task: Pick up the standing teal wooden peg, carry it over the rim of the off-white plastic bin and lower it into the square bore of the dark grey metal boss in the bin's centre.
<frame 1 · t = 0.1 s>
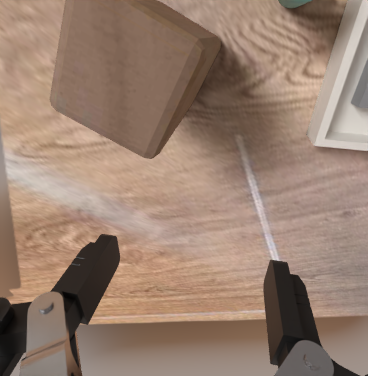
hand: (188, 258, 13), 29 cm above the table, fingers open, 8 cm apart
wooden block: (175, 58, 35), on the table
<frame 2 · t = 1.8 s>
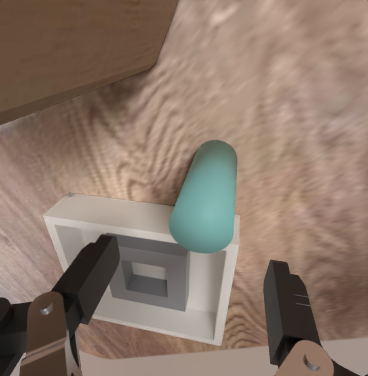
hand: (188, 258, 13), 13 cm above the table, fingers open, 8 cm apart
bin: (153, 258, 33), on the table
peg: (215, 160, 23), on the table
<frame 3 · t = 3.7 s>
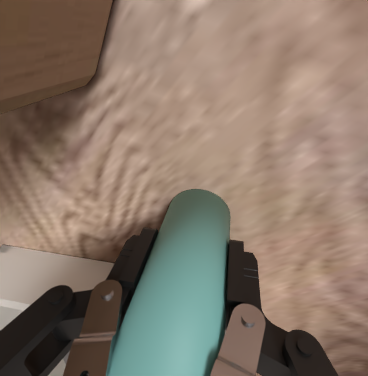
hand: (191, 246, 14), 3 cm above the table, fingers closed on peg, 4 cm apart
bin: (122, 323, 25), on the table
peg: (198, 215, 16), on the table, touching gripper
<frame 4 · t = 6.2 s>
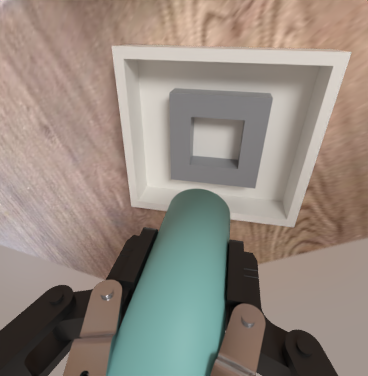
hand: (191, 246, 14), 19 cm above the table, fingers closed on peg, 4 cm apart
bin: (217, 133, 29), on the table
peg: (198, 214, 16), point 16 cm above the table, touching gripper
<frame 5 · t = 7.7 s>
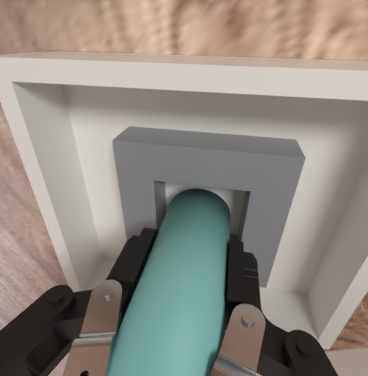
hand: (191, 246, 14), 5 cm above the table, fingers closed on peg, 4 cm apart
bin: (204, 194, 18), on the table
peg: (198, 214, 16), point 3 cm above the table, touching gripper
when the fingers open (5 cm above the table, at t = 8.8 s): peg drops 1 cm, resting on bin.
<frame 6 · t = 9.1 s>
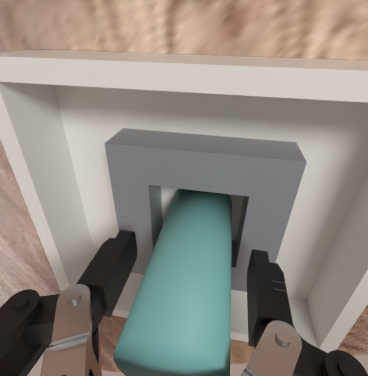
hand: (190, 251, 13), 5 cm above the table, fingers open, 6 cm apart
bin: (202, 198, 18), on the table
peg: (202, 204, 17), point 1 cm above the table, touching bin
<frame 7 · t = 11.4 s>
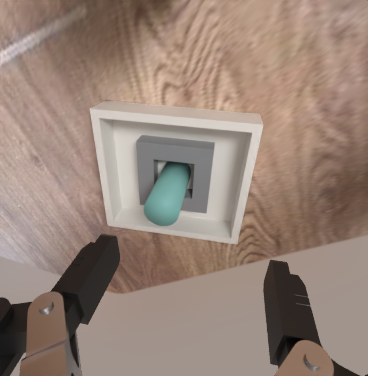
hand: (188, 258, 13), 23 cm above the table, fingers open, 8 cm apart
bin: (177, 168, 37), on the table
peg: (177, 170, 36), point 1 cm above the table, touching bin
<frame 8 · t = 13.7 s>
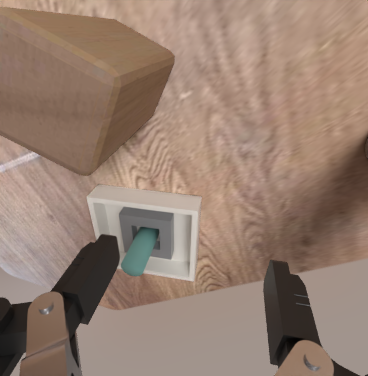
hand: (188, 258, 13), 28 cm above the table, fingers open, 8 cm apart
wooden block: (134, 72, 36), on the table
bin: (151, 226, 51), on the table
peg: (150, 229, 50), point 1 cm above the table, touching bin
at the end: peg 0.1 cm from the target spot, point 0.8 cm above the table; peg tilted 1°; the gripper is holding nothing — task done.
